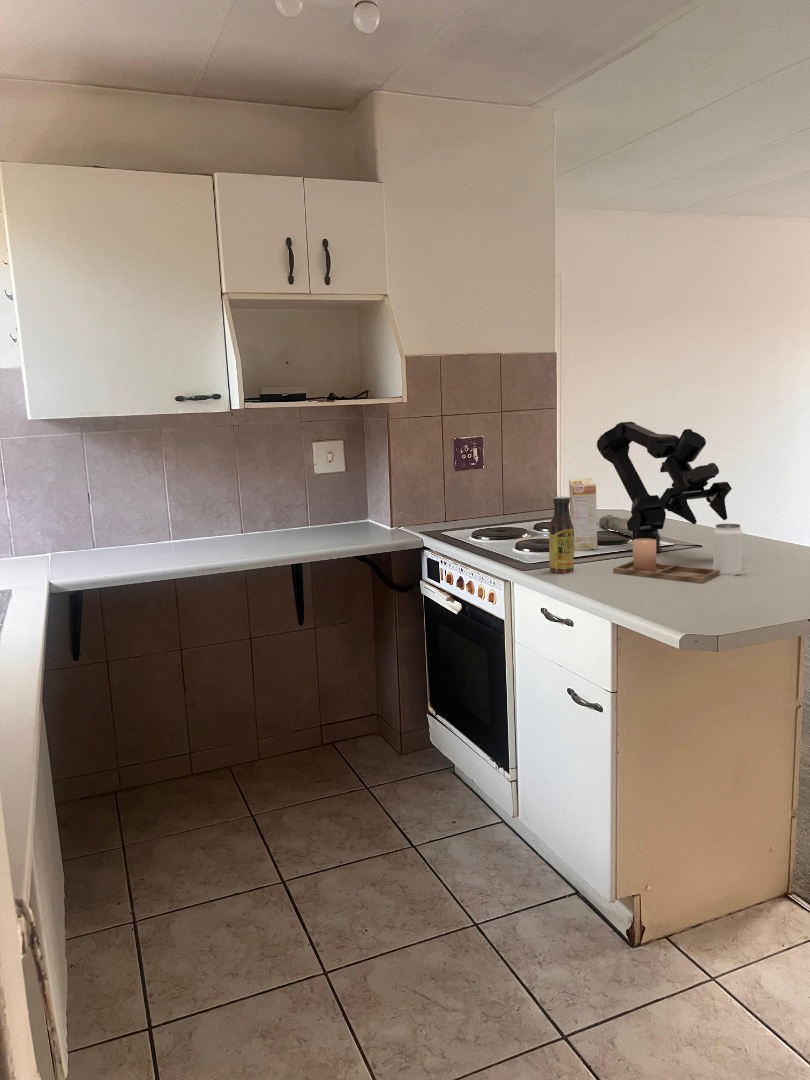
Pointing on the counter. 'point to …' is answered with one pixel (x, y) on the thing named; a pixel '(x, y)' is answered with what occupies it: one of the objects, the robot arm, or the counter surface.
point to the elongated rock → (616, 524)
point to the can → (728, 549)
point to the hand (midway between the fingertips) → (710, 521)
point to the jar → (644, 554)
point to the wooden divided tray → (671, 572)
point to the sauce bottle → (561, 538)
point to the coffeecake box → (583, 513)
